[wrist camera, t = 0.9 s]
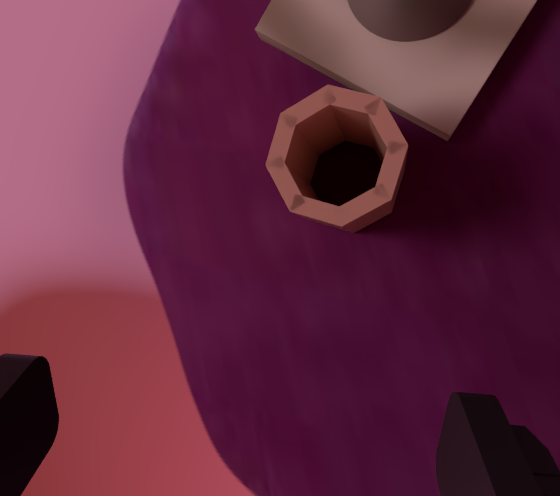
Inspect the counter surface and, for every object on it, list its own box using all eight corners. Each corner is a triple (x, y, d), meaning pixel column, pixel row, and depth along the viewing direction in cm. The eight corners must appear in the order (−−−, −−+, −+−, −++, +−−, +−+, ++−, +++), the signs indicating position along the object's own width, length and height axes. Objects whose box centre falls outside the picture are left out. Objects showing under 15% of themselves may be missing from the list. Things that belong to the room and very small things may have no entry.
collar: (369, 110, 31) (362, 63, 24) (418, 198, 31) (428, 180, 23) (282, 161, 33) (248, 132, 25) (328, 246, 32) (307, 245, 24)
